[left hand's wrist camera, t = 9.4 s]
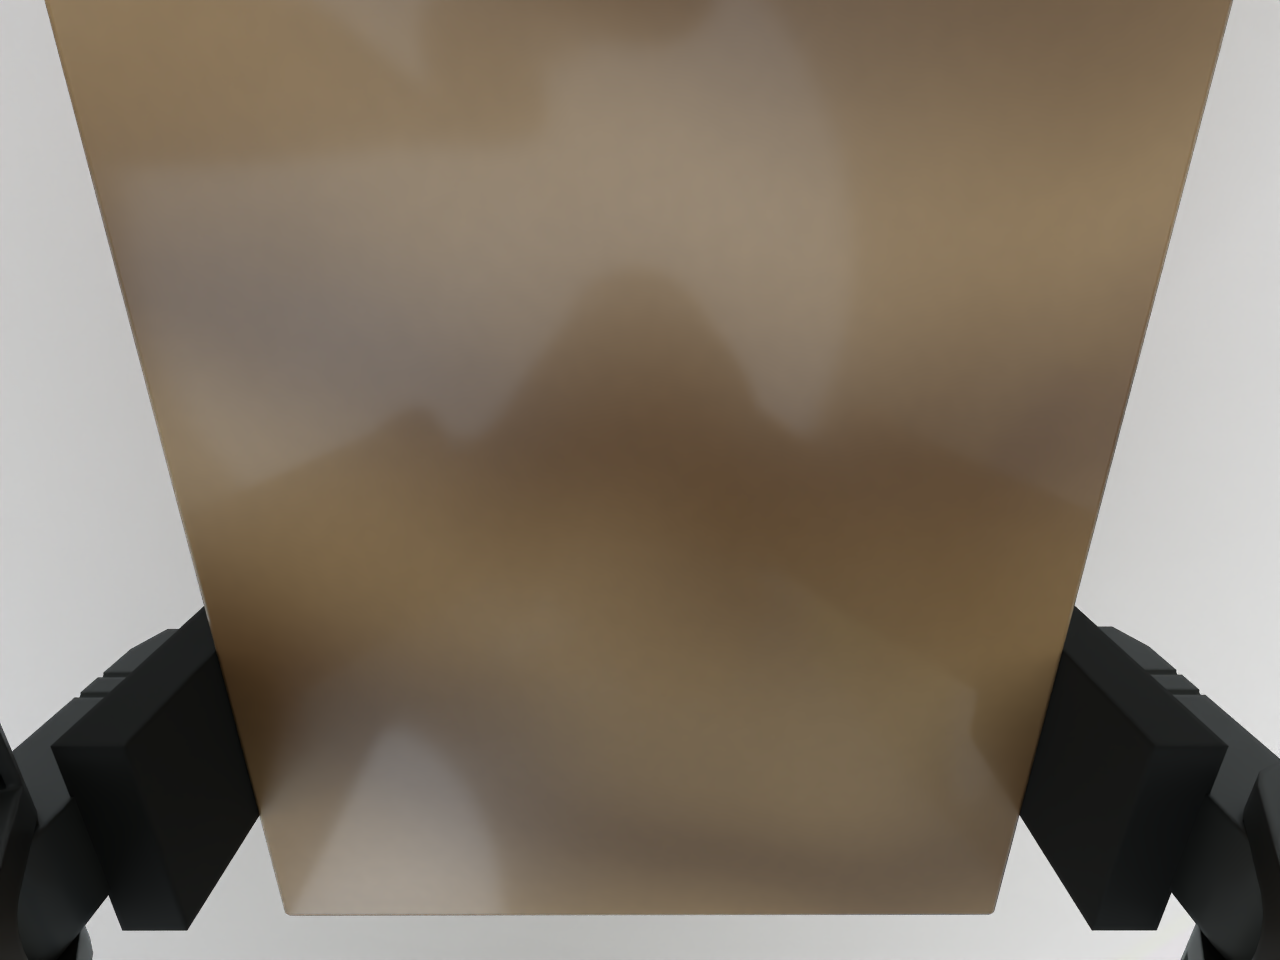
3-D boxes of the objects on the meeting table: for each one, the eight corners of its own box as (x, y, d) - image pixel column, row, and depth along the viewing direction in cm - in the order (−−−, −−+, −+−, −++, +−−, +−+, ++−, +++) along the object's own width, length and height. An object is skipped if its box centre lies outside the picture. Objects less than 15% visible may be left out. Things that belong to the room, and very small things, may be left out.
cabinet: (341, -176, 12) (-193, -873, 4) (935, -176, 12) (1468, -868, 4) (438, 611, 18) (283, 918, 10) (840, 610, 18) (995, 917, 10)
